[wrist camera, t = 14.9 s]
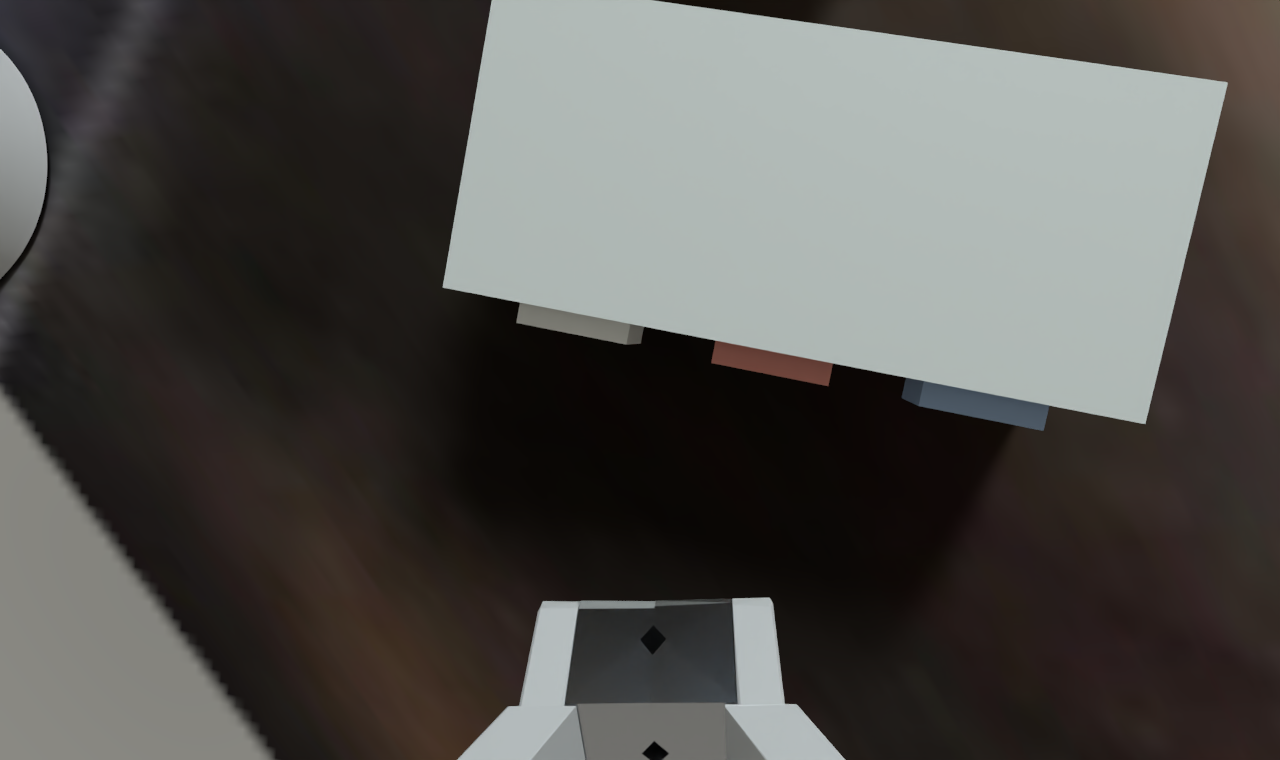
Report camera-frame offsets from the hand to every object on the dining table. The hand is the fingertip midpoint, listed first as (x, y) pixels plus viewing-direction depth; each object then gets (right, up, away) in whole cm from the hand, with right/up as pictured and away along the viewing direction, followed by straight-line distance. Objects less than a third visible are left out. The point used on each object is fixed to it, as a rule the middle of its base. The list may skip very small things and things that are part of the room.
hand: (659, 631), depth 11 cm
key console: (+6, +10, +26) cm, 28 cm away
